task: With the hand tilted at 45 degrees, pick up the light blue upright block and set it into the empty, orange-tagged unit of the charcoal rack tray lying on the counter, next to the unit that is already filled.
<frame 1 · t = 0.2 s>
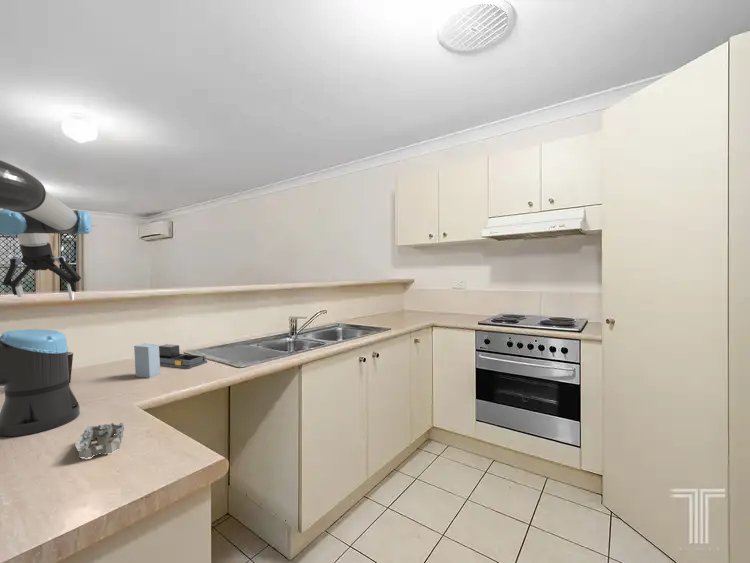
hand: (48, 301, 125), 27 cm above the worktop, tool tilted 15°, fingers open, 13 cm apart
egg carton: (102, 448, 75), on the worktop
coffee mug: (56, 384, 118), on the worktop
light blue upright block: (148, 375, 125), on the worktop
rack: (178, 363, 140), on the worktop
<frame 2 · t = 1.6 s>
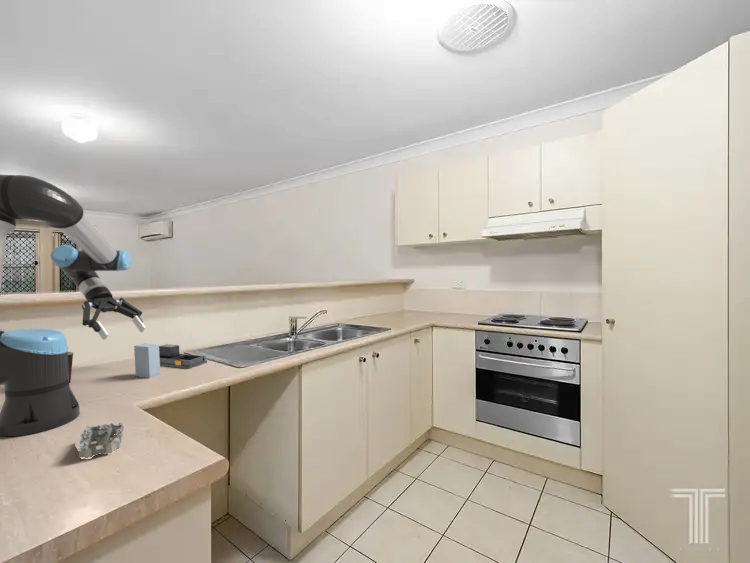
hand: (125, 333, 128), 15 cm above the worktop, tool tilted 45°, fingers open, 13 cm apart
nothing on the worktop moved.
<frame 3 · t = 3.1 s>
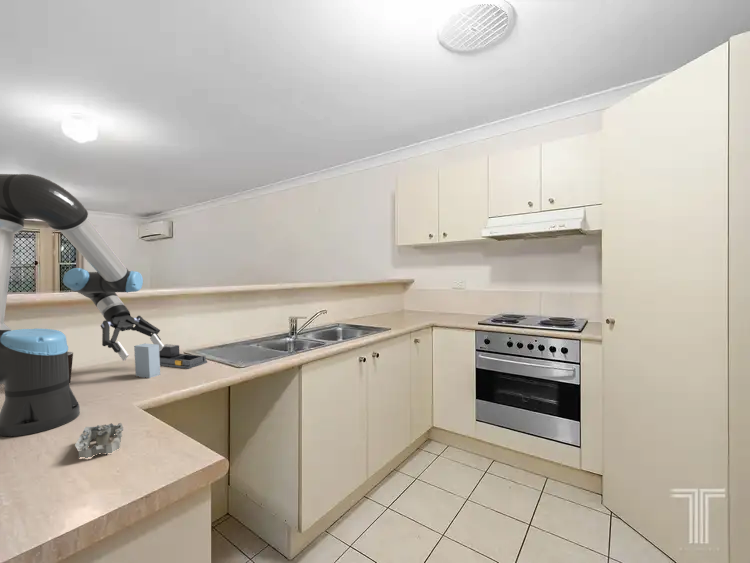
hand: (144, 353, 127), 8 cm above the worktop, tool tilted 45°, fingers open, 13 cm apart
nothing on the worktop moved.
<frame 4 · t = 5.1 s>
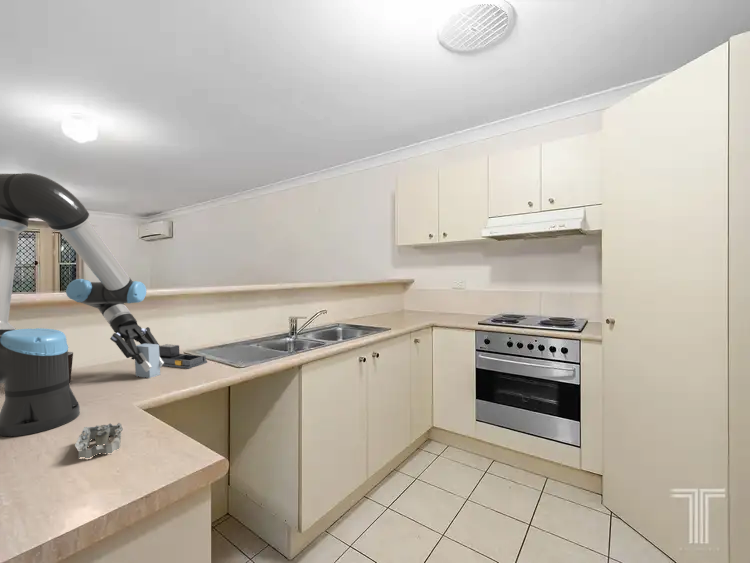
hand: (155, 367, 124), 3 cm above the worktop, tool tilted 45°, fingers closed on light blue upright block, 4 cm apart
light blue upright block: (148, 375, 125), on the worktop, touching gripper
everything else where it was.
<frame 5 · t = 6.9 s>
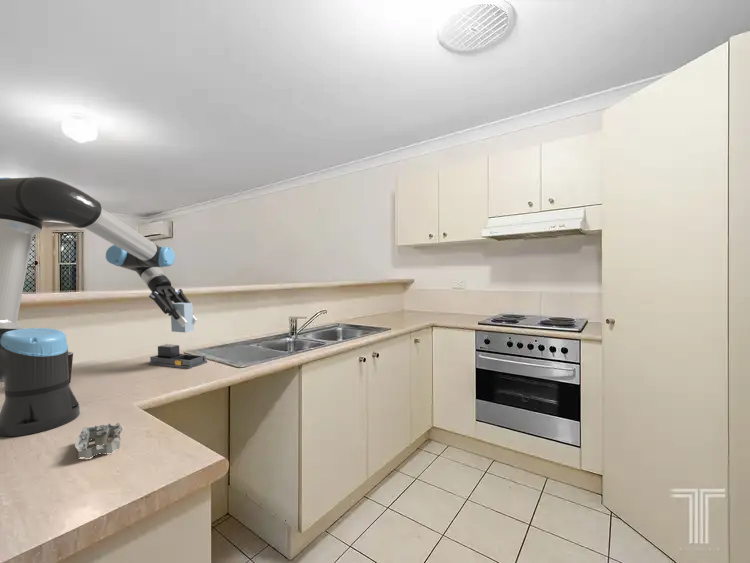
hand: (189, 323, 136), 17 cm above the worktop, tool tilted 45°, fingers closed on light blue upright block, 4 cm apart
light blue upright block: (182, 331, 137), point 14 cm above the worktop, touching gripper
everything else where it was.
when the fingers open (6 cm above the worktop, at t = 9.2 s): light blue upright block drops 2 cm, resting on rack.
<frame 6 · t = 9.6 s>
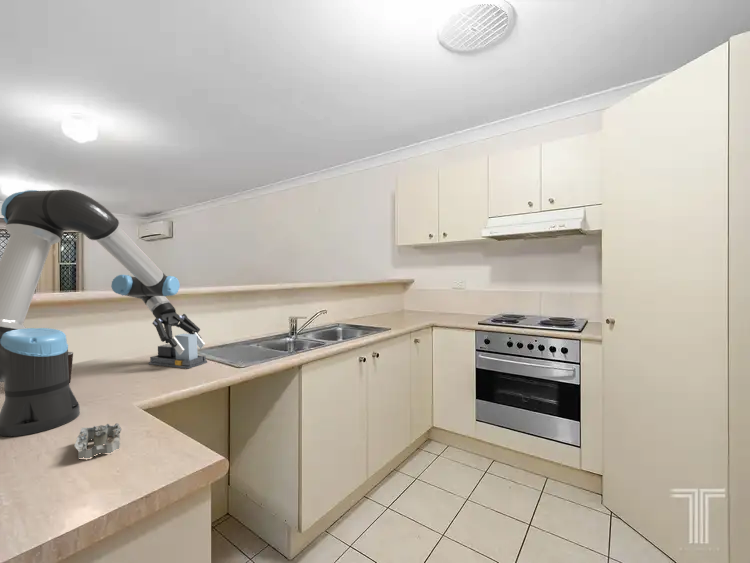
hand: (192, 349, 137), 6 cm above the worktop, tool tilted 45°, fingers open, 9 cm apart
light blue upright block: (187, 362, 138), point 1 cm above the worktop, touching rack
everything else where it was.
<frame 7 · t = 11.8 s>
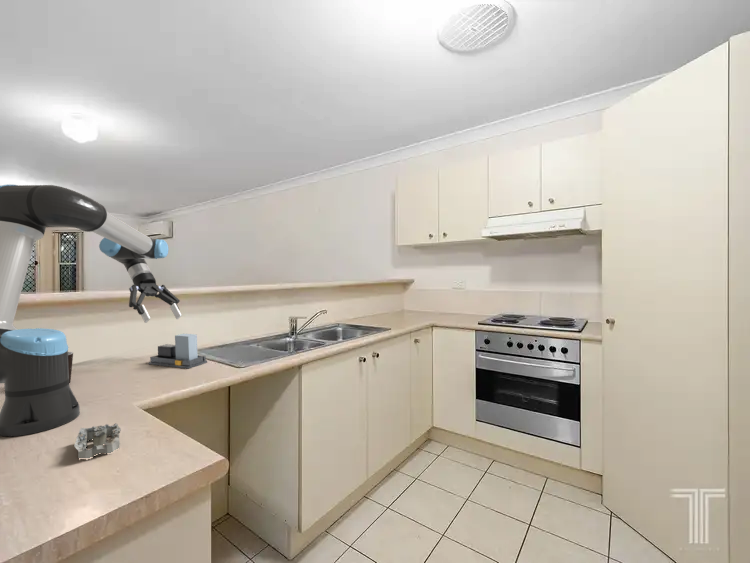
hand: (164, 319, 139), 18 cm above the worktop, tool tilted 40°, fingers open, 13 cm apart
nothing on the worktop moved.
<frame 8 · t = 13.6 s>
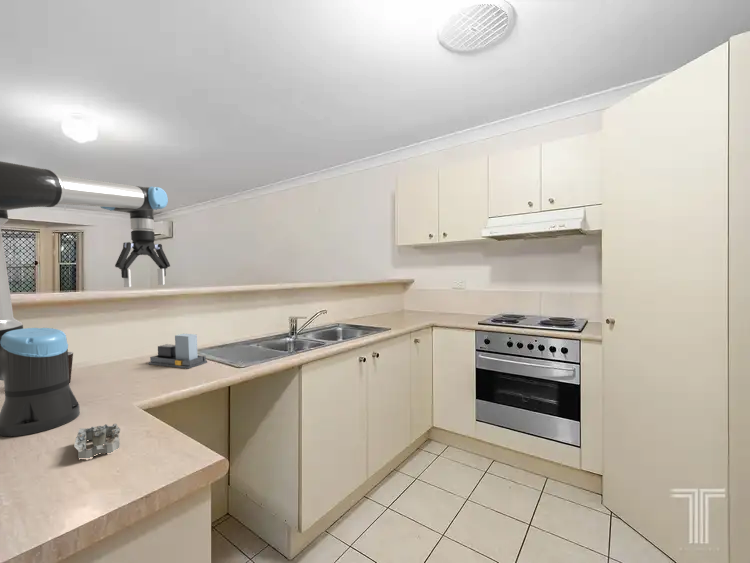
hand: (145, 285, 134), 32 cm above the worktop, tool pointing down, fingers open, 13 cm apart
nothing on the worktop moved.
at the end: light blue upright block 0.1 cm from the target spot on the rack, point 0.8 cm above the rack's base; light blue upright block tilted 0°; the gripper is holding nothing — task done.
